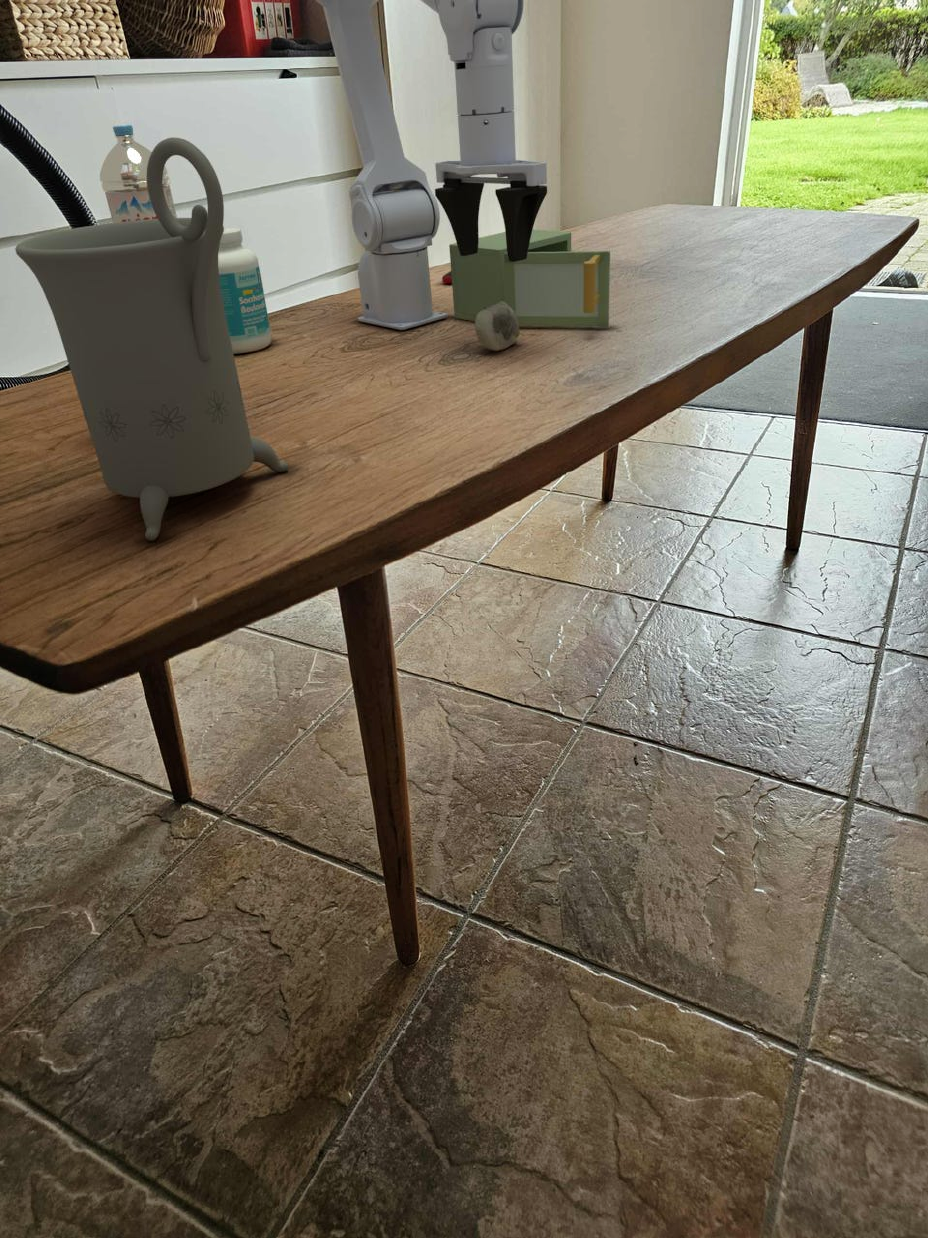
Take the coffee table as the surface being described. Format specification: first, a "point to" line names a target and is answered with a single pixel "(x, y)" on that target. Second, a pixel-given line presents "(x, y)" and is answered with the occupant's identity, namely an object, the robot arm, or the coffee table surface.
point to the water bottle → (130, 179)
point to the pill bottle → (242, 294)
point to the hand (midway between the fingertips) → (492, 257)
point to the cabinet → (492, 270)
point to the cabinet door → (559, 288)
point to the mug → (152, 344)
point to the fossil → (497, 326)
